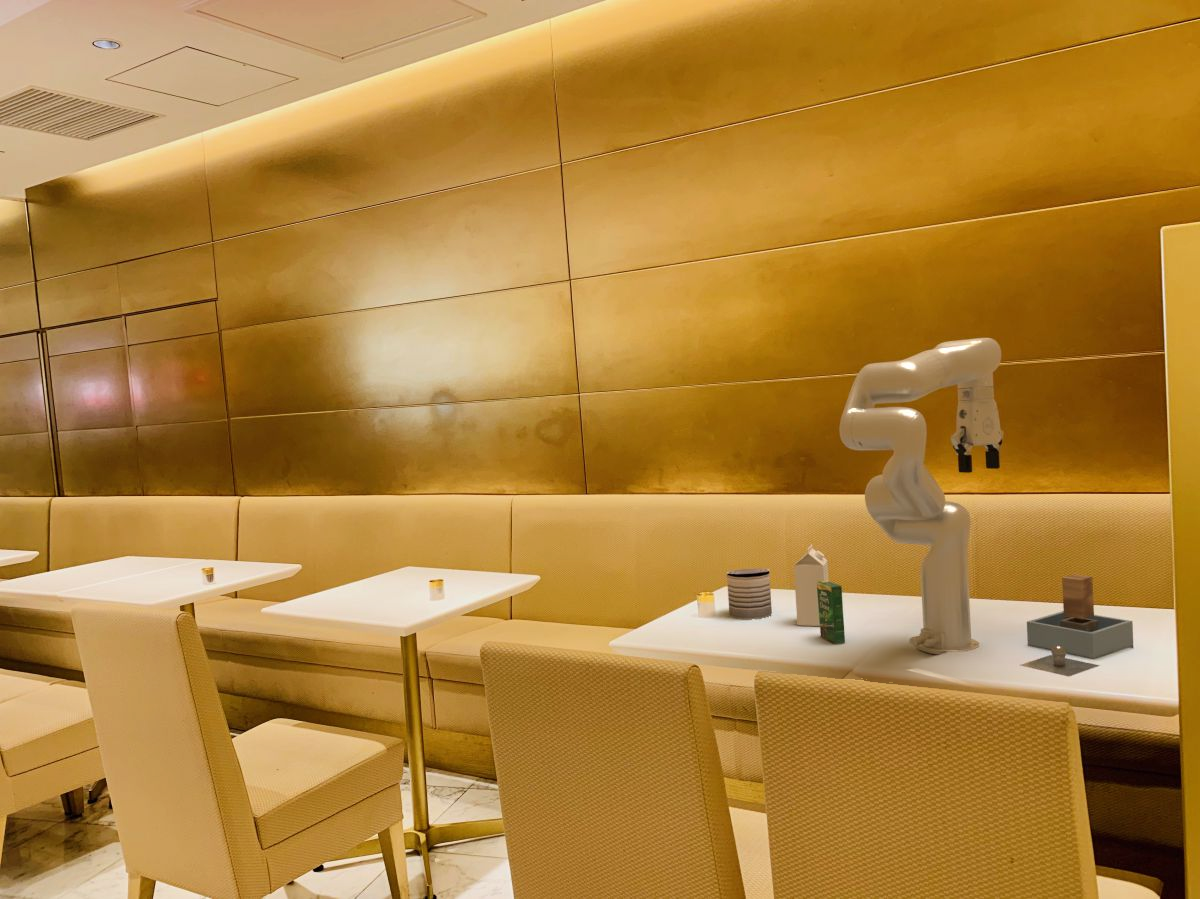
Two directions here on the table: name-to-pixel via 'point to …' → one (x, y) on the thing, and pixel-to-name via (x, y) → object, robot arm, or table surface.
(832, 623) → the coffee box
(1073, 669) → the stud plate
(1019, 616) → the table surface
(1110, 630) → the bin
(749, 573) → the can
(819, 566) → the milk carton
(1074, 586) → the strut
